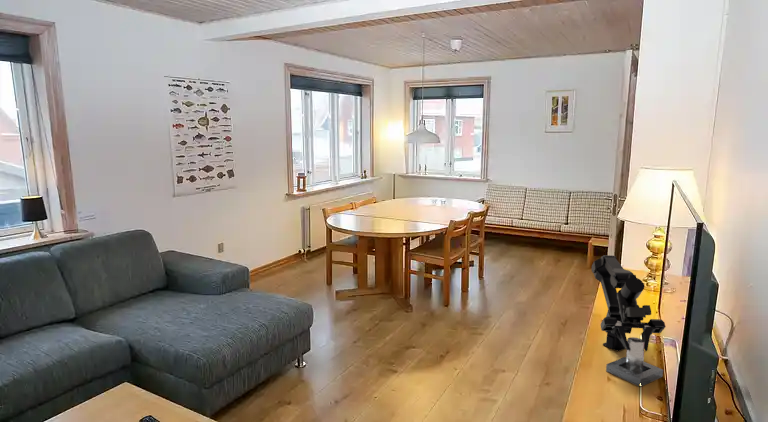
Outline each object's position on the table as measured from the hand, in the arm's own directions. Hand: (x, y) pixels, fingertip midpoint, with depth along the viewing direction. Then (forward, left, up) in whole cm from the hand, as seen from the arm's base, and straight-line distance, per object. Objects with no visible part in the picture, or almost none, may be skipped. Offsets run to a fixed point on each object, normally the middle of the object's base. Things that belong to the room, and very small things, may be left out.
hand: (637, 350), depth 158 cm
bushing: (-1, -1, -8) cm, 8 cm away
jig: (-1, -1, -9) cm, 9 cm away
